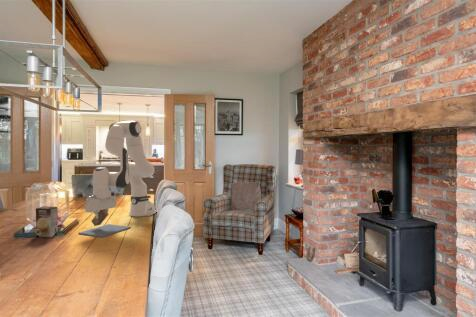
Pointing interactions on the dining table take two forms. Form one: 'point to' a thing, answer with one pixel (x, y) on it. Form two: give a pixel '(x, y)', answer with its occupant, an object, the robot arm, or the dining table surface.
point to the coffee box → (46, 221)
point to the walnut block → (102, 214)
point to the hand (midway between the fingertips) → (101, 217)
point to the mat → (104, 230)
